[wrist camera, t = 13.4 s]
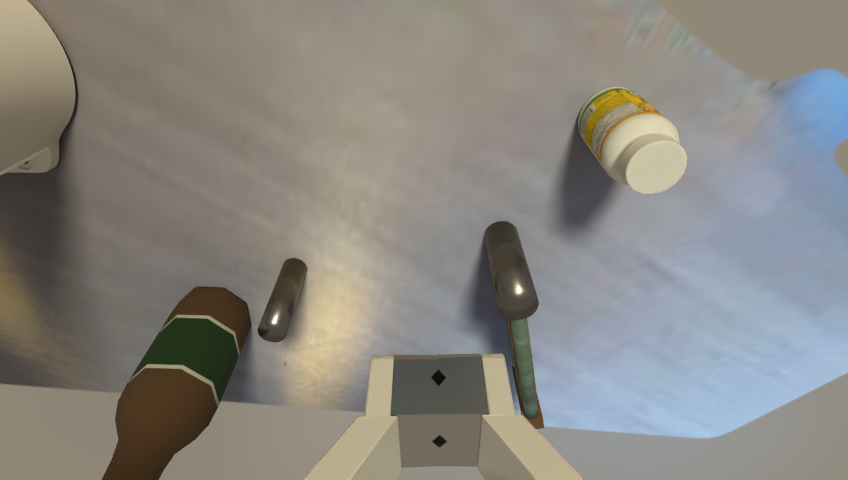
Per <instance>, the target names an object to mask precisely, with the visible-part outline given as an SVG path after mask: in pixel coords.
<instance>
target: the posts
mask: <svg viewBox="0 0 848 480" xmlns="http://www.w3.org/2000/svg"><path fill="white" fill-rule="evenodd" d="M484 238H485V243H486V249H487V254H488V259H489V264H490V269H491V274H492V279H493V285H494V290H495V295H496V300H497V305H498V310H499V312H500V314H501V315H502V316H504V317H505V318H507V319H511V320H521V319H525V318H527V317H529V316H531V315H532V314H534V312H535V311H536V310H537V308H538V303H539V302H538V298H537V295H536V291H535V288H534V285H533V282H532V278H531V275H530V272H529V268H528V265H527V262H526V258H525V255H524V252H523V248H522V245H521V242H520V238H519V235H518V232H517V229H516V227H515V226H514V225H513V224H511V223H509V222H505V221H500V222H496V223H493V224H492V225H490V226H489V227H488V228H487V230H486V231H485V235H484ZM306 272H307V266H306V264H305V263H304V262H303V261H301V260H299V259H296V258H291V259H288V260H286V261H285V262H284V264H283V266H282V269H281V271H280V274H279V276H278V279H277V281H276V284H275V286H274V289H273V291H272V294H271V297H270V299H269V302H268V304H267V307H266V309H265V312H264V314H263V317H262V319H261V322H260V324H259V327H258V333H259V335H260V336H261V337H262V338H263V339H264V340H267V341H270V342H279V341H282V340H283V339H284V338H285V337H286V334H287V331H288V328H289V325H290V322H291V319H292V315H293V312H294V309H295V306H296V303H297V300H298V297H299V294H300V290H301V287H302V284H303V281H304V278H305V275H306Z"/></svg>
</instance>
